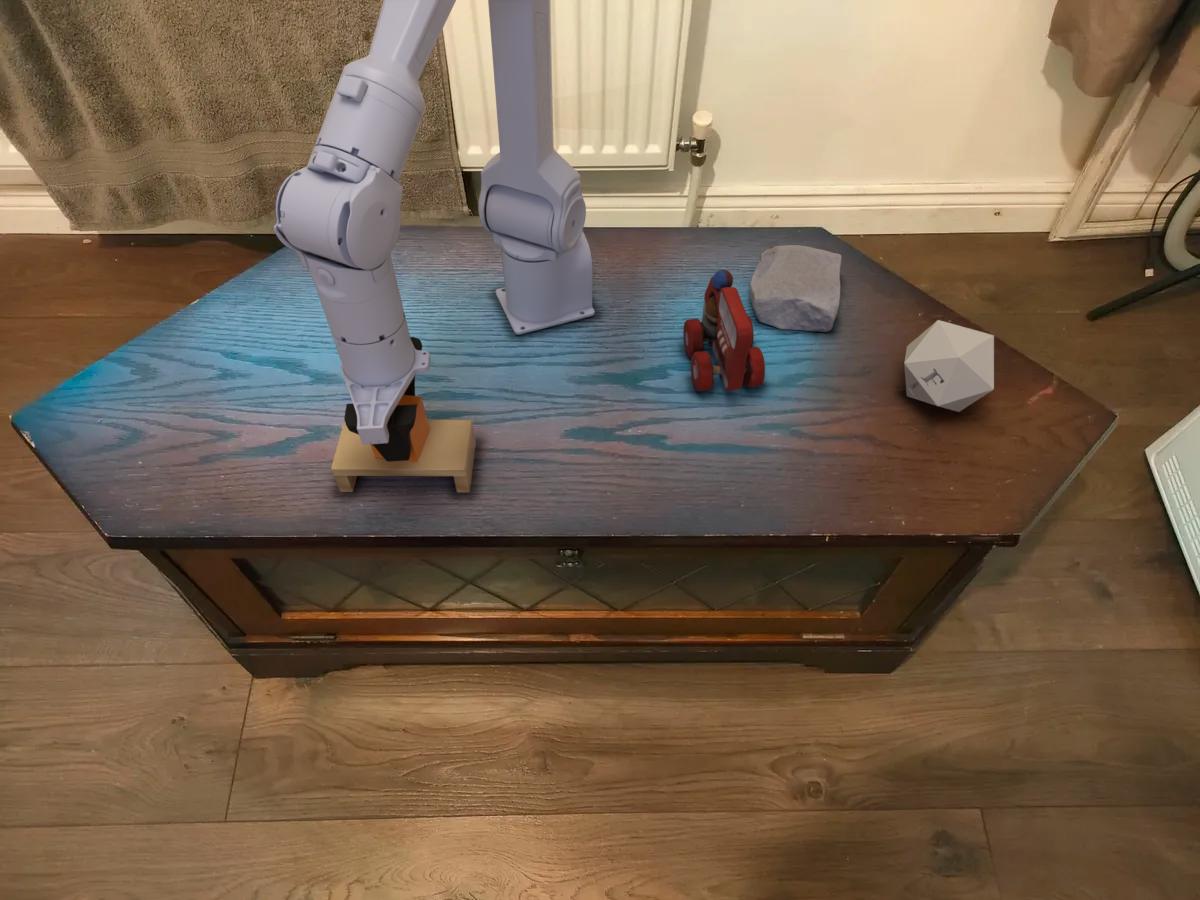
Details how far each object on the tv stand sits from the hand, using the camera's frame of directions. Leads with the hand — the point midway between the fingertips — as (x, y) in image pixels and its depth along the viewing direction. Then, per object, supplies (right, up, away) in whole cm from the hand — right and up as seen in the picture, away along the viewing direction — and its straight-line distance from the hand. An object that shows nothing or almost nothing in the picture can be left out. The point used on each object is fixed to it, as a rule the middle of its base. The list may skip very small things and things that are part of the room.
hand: (400, 434), depth 70 cm
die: (+53, +4, +11) cm, 54 cm away
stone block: (+40, +16, +20) cm, 48 cm away
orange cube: (0, -1, +1) cm, 1 cm away
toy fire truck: (+31, +8, +13) cm, 34 cm away
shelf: (0, -3, +4) cm, 5 cm away
